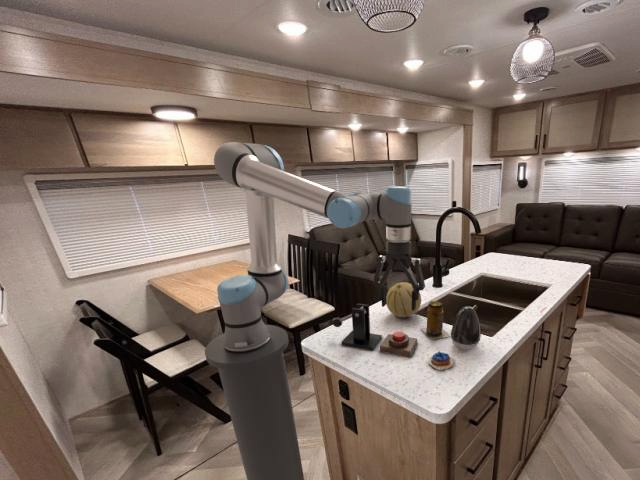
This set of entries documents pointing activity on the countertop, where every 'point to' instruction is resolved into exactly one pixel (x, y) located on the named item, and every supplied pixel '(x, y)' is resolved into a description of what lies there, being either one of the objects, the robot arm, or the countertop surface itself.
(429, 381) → the countertop surface
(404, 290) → the cantaloupe
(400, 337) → the button
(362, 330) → the bracket
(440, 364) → the dessert
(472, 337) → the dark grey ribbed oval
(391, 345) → the button block
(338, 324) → the lever
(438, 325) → the condiment
